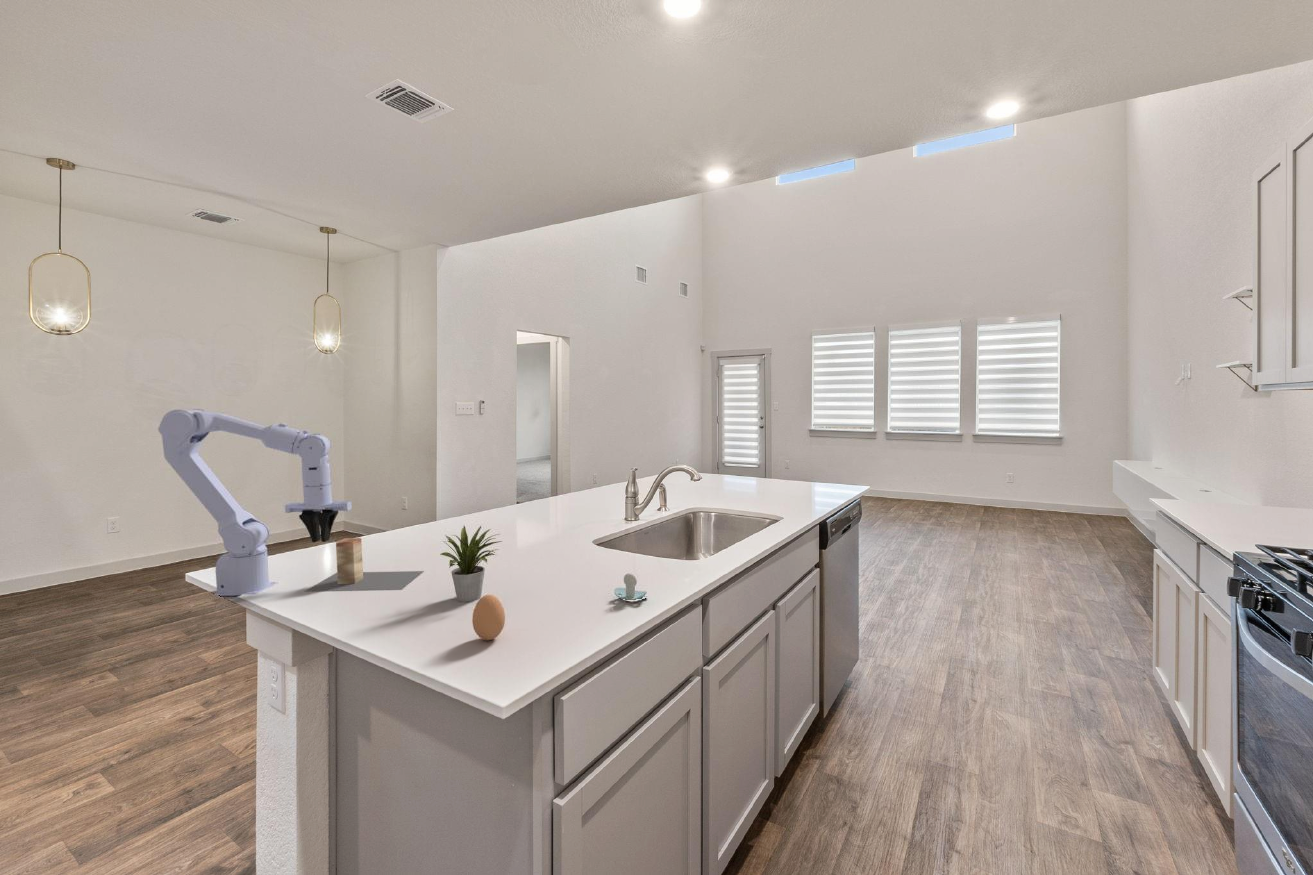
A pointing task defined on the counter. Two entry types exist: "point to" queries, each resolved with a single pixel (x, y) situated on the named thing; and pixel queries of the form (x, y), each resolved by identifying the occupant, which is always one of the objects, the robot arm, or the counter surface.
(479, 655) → the counter surface
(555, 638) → the counter surface
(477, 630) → the egg
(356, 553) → the long block
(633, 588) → the pacifier
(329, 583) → the rubber mat
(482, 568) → the house plant
